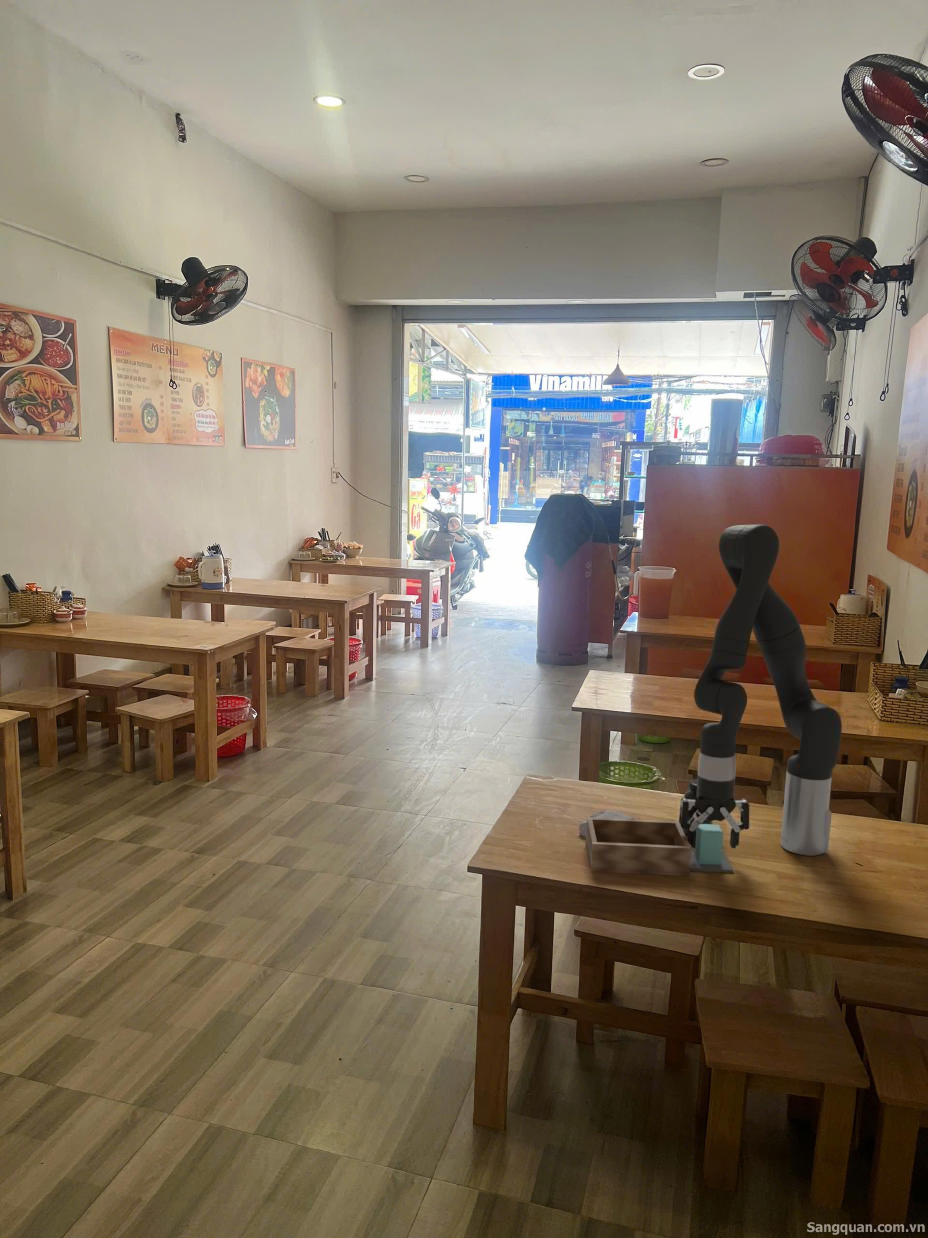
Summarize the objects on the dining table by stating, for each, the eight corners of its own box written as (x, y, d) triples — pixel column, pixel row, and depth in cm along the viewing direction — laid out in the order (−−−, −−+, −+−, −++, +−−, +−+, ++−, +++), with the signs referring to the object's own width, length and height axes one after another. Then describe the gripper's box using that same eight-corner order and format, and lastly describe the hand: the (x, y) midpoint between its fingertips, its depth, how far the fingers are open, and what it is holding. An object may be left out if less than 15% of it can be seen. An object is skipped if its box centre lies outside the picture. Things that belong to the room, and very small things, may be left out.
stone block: (575, 843, 199) (615, 846, 193) (573, 822, 199) (613, 825, 193) (599, 828, 208) (638, 831, 202) (597, 809, 208) (635, 810, 202)
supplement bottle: (711, 840, 197) (714, 789, 195) (680, 835, 199) (683, 785, 197) (712, 828, 204) (716, 779, 202) (682, 824, 206) (685, 775, 204)
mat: (723, 854, 190) (723, 851, 190) (733, 873, 181) (733, 870, 181) (681, 852, 190) (681, 849, 190) (689, 870, 181) (689, 868, 181)
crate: (677, 847, 193) (678, 821, 192) (689, 876, 179) (691, 848, 178) (586, 843, 194) (587, 817, 193) (591, 871, 180) (592, 844, 179)
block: (716, 855, 188) (718, 824, 186) (720, 865, 183) (723, 833, 182) (694, 854, 188) (697, 823, 187) (699, 863, 183) (701, 832, 182)
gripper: (746, 768, 186) (742, 840, 189) (678, 766, 187) (675, 838, 189) (755, 780, 178) (751, 855, 181) (685, 779, 179) (681, 853, 182)
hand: (712, 846), depth 185 cm, fingers open, 8 cm apart
